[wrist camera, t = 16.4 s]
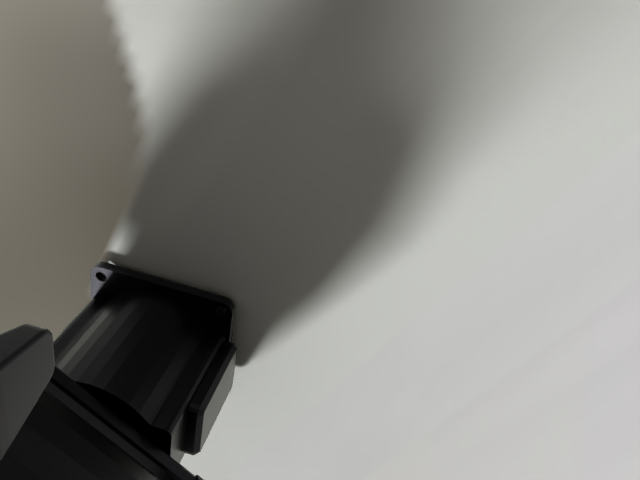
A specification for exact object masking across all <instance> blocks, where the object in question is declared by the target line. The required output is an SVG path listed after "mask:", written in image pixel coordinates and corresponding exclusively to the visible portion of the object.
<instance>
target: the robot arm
mask: <svg viewBox="0 0 640 480" xmlns="http://www.w3.org/2000/svg"><path fill="white" fill-rule="evenodd" d="M101 272H102V273H104V274H105V275H106V276H104V275H103V274H102V273H101ZM90 276H91V301H90V302H89V303H88V304H87V305H86V306H85V307H84V308H83V309H82V310H81V311H80V313H79V314H78V315H77V316H76V317H75V318H74V319H73V320H72V321H71V322H70V323H69V325H68V326H67V327H66V328H65V329H64V330H63V331H62V332H61V333H60V334H59V335H58V337H57V338H56V339H55V340H54V341H53V338H52V333H51V332H50V330H48V329H46V328H42V327H39V326H36V325H33V324H24V325H21V326H18V327H16V328H14V329H11V330H9V331H7V332H5V333H2V334H0V480H203V479H202V478H201V477H200V476H198V475H196V476H194V475H193V474H192V473H191V472H189V471H188V470H187V469H186V468H184V467H183V466H182V465H180V464H179V463H180V461H181V459H182V457H183V455H184V453H188V454H191V455H195V454H197V453H199V452H200V451H201V449H202V447H203V445H204V443H205V441H206V439H207V437H208V435H209V433H210V431H211V429H212V426H213V424H214V422H215V420H216V418H217V416H218V414H219V412H220V410H221V408H222V406H223V404H224V402H225V400H226V398H227V395H228V393H229V391H230V389H231V387H232V383H233V375H234V368H235V361H236V354H237V348H236V346H235V344H234V343H232V342H231V339H232V331H233V323H234V316H235V305H234V303H233V302H232V301H231V300H230V299H228V298H226V297H223V296H219V295H216V294H213V293H209V292H206V291H202V290H199V289H195V288H192V287H188V286H185V285H181V284H178V283H175V282H171V281H168V280H164V279H161V278H157V277H154V276H150V275H147V274H144V273H140V272H137V271H133V270H130V269H126V268H123V267H119V266H116V265H112V264H109V263H105V262H100V263H98V264H97V265H96V266H95V267H94V268H93V269H92V270H91V273H90ZM219 307H222V308H224V309H225V310H226V311H223V310H221V309H220V308H219Z"/></svg>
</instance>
